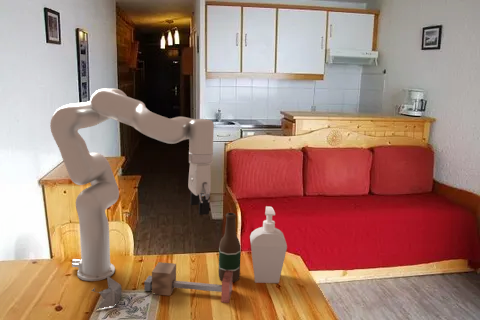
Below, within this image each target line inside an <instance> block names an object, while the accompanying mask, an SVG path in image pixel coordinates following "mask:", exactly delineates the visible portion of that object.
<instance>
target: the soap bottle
mask: <svg viewBox="0 0 480 320" xmlns="http://www.w3.org/2000/svg"><path fill="white" fill-rule="evenodd" d="M264 215H265V216H266V218H265V219H264V220H263V221H262V226H261V227H260V226H259V227H258V228H255V229H254V230H253V231H251V233H250V235H249V239H250V249H251V258H252V267H253V277H254V283H256V284H257V283H259V284H262V283H263V284H279V283H280V279H281V274H282V272H283V271H282V270H283V266H284V263H285V258H286V254H287V249H288V245H287V241H286V238H285V235H284V232H283V231H282V230H280V229H279V228H277V227H276V225H275V224H276V222H275V220H273V216H276V212H275V210H274V208H273V207H272V206H267V205H266V206H265V212H264Z"/></svg>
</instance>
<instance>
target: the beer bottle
mask: <svg viewBox="0 0 480 320" xmlns="http://www.w3.org/2000/svg"><path fill="white" fill-rule="evenodd" d="M225 218H226V220H225V227H224V234H223V237H221V239H220V241H219V247H218V277H219V281H220V282H222V280H223V277H224V274H225V271H226V270H230V271H233V279H232V283H235V282H237V281H238V280H239V279H240V278H241V277H240V275H241V257H242V256H241V251H242V250H241V249H242V247H241V246H242V245H241V242H240V240H239V238H238V236H237V232H236V231H237V230H236V229H237V228H236V227H237V226H236V218H237V215H236V213H234V212H227V213H226V214H225Z"/></svg>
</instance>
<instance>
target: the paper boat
mask: <svg viewBox="0 0 480 320" xmlns="http://www.w3.org/2000/svg"><path fill="white" fill-rule="evenodd" d="M106 279H107V288H105V289H103V290H101V291H99V292H98V291H95V290H96V287H93V288H92V289H91V292H94V293H99V295H100V296H101V297H102V299H103V301H102V302H100V304H99V306H97V308H96V309H95V311H96V310H97V309H99V308H104V307H109V306H114V305H115V304H116V303H117V302H118V303H119V301H120V300H121V298H122V285H121V284H120V283H119V282H117V281H116V280H114V279H113V278H112V277H111V276H110V277H108V276H107V278H106ZM118 303H117V304H118Z"/></svg>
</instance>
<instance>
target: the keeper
mask: <svg viewBox="0 0 480 320" xmlns="http://www.w3.org/2000/svg"><path fill="white" fill-rule="evenodd" d="M151 276H152V291H151V294H152V293H155V294H154V295H160V296H161V295H162V296H171V294H172V293H173V291H174V289H175V288H174V287H172V281H173V280H174V281H177V263H172V262H159V261H158V262H157V264H156V266H155V267H154V269H153V270H152V272H151Z"/></svg>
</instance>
